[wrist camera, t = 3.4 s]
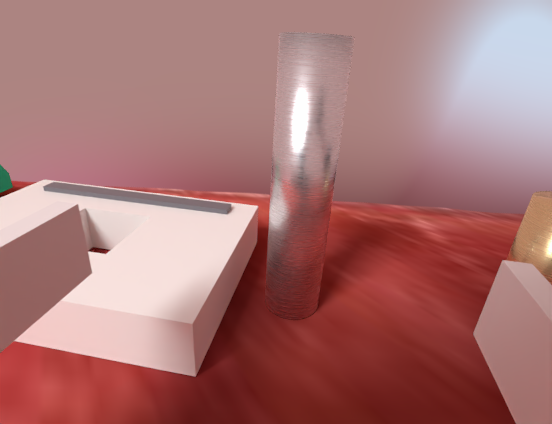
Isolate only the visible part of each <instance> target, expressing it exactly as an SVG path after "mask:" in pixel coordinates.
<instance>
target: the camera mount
mask: <svg viewBox="0 0 552 424" xmlns="http://www.w3.org/2000/svg"><path fill="white" fill-rule="evenodd" d="M12 187H13V186H12V183H11V179H10V176H9V173H8V172H7V171H6V170H5V169H4V168H3V167H2V166H1V165H0V193H1V192H3V191H6V190H8V189H10V188H12Z"/></svg>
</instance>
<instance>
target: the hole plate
mask: <svg viewBox="0 0 552 424" xmlns="http://www.w3.org/2000/svg"><path fill="white" fill-rule="evenodd" d="M57 201H60V202H67V203H75V204H78V206H79V211H80V216H81V220H82V225H83V230H84V235H85V240H86V245H87V250H88V254H89V259H90V264H91V269H92V274H91V275H89V276H88V277H87V278H86V279H85V280H84V281H82V282H81V283H80V284H79V285H78V286H77V287H76V288H74V289H73V290H72V291H71V292H70V293H69V294H67V295H66V296H65V297H64V298H63V299H62V300H61V301H59V302H58V303H57V304H56V305H55V306H54V307H52V308H51V309H50V310H49V311H48V312H47V313H46V314H44V315H43V316H42V317H41V318H40V319H39V320H37V321H36V322H35V323H34V324H33V325H32V326H31V327H29V328H28V329H27V330H26V331H25V332H24V333H23V334H21V335H20V336H19V337H18V338H17V339H16V340H14V341H17V342H22V343H27V344H32V345H37V346H42V347H48V348H53V349H58V350H63V351H68V352H73V353H78V354H83V355H88V356H93V357H98V358H103V359H108V360H113V361H118V362H123V363H129V364H134V365H139V366H144V367H149V368H154V369H159V370H164V371H169V372H174V373H179V374H184V375H189V376H194V377H196V375H197V373H198V371H199V369H200V366H201V364H202V362H203V360H204V358H205V355H206V353H207V351H208V349H209V347H210V344H211V342H212V340H213V338H214V336H215V333H216V331H217V329H218V327H219V325H220V323H221V320H222V318H223V316H224V314H225V312H226V309H227V307H228V305H229V303H230V301H231V298H232V296H233V294H234V292H235V290H236V288H237V285H238V283H239V281H240V279H241V277H242V274H243V272H244V270H245V268H246V266H247V263H248V261H249V259H250V257H251V255H252V252H253V250H254V248H255V246H256V244H257V231H258V206H253V205H245V204H237V203H229V202H221V201H213V200H205V199H197V198H189V197H181V196H173V195H165V194H157V193H149V192H141V191H133V190H125V189H117V188H108V187H100V186H92V185H84V184H76V183H68V182H60V181H52V180H42V181H40V182H37V183H35V184H32V185H30V186H27V187H25V188H23V189H20V190H18V191H15V192H13V193H10V194H8V195H5V196H3V197H1V198H0V230H1V229H3V228H5V227H7V226H9V225H11V224H13V223H15V222H17V221H19V220H21V219H23V218H25V217H27V216H29V215H31V214H33V213H35V212H37V211H39V210H41V209H43V208H45V207H47V206H49V205H51V204H53V203H55V202H57ZM92 247H95V248H102V249H109V250H110V251H109V252H108V253H107V254H102V253H95V252H89V250H90V249H91V248H92Z"/></svg>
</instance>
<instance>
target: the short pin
mask: <svg viewBox="0 0 552 424" xmlns="http://www.w3.org/2000/svg"><path fill="white" fill-rule="evenodd" d="M507 261H514V262H522V263H530V264H533V265H534V266H535V268H536V269H537V270H538V271H539V272H540V273H541V274H542V275H543V276H544V277H545V278H546V279H547V280H548V282H549V283H550V284H551V285H552V192H551V191H540V192H535V193H534V194H533V195H532V198H531V200H530V203H529V205H528V208H527V210H526V213H525V215H524V218H523V220H522V223H521V225H520V227H519V230H518V232H517V235H516V237H515V240H514V242H513V245H512V247H511V250H510V252H509V255H508V257H507Z"/></svg>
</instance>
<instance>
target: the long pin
mask: <svg viewBox="0 0 552 424" xmlns="http://www.w3.org/2000/svg"><path fill="white" fill-rule="evenodd" d="M353 45H354V37H350V36H343V35H332V34H318V33H289V32H288V33H279V45H278V46H279V47H278V65H277V83H276V102H275V120H274V138H273V139H274V140H273V157H272V177H271V194H270V213H269V232H268V251H267V269H266V288H265V304H266V306H267V308H268V309H269V310H270V311H271V312H272V313H273V314H275V315H277V316H279V317H281V318H285V319H291V320H298V319H304V318H307V317H309V316H311V315H312V314H313V313H314V312H315V311H316V310H317V307H318V301H319V294H320V286H321V279H322V272H323V264H324V257H325V250H326V243H327V235H328V228H329V221H330V213H331V206H332V199H333V191H334V184H335V177H336V169H337V162H338V155H339V147H340V140H341V132H342V125H343V118H344V111H345V103H346V97H347V89H348V82H349V74H350V67H351V60H352V53H353Z"/></svg>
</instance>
